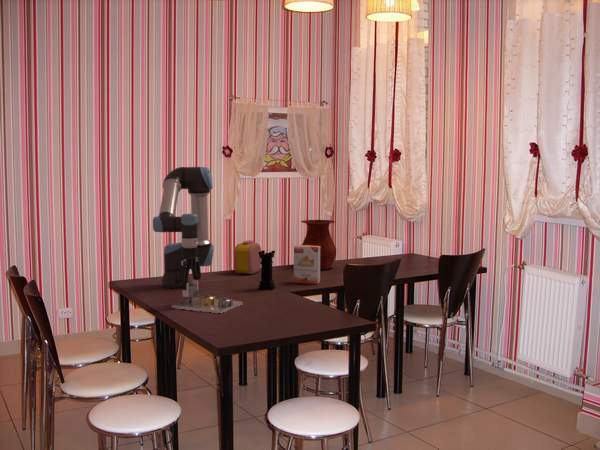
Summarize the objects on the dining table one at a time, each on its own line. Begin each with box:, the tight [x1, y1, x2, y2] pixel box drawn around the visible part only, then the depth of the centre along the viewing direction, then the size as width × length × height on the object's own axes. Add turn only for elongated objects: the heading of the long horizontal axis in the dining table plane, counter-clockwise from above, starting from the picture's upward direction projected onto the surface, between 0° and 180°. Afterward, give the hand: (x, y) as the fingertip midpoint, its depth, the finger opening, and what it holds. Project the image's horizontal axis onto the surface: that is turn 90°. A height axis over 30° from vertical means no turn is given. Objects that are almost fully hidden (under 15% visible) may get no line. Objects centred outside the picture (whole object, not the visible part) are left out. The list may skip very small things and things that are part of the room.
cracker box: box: [293, 244, 321, 285], centre depth 363 cm, size 14×6×21 cm, turn 77°
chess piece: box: [257, 249, 277, 291], centre depth 347 cm, size 8×8×20 cm
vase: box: [300, 219, 337, 271], centre depth 413 cm, size 23×24×30 cm
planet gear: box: [181, 283, 200, 298], centre depth 307 cm, size 8×8×5 cm
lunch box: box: [233, 240, 262, 275], centre depth 395 cm, size 18×11×19 cm, turn 162°
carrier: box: [171, 294, 243, 314], centre depth 304 cm, size 26×20×6 cm
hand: (190, 294), depth 308 cm, fingers closed on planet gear, 8 cm apart
